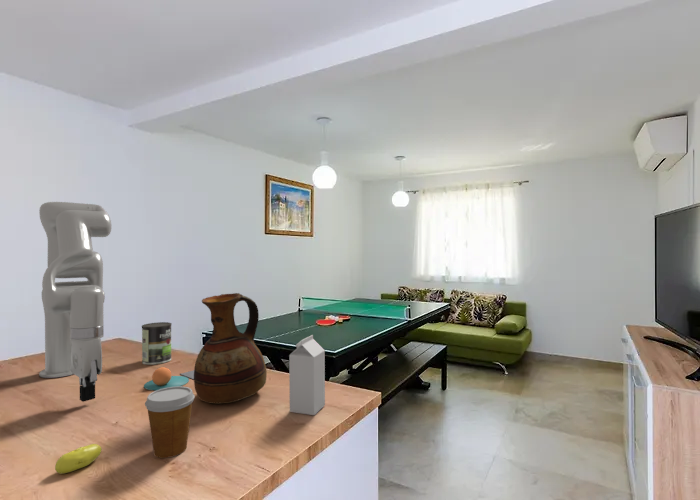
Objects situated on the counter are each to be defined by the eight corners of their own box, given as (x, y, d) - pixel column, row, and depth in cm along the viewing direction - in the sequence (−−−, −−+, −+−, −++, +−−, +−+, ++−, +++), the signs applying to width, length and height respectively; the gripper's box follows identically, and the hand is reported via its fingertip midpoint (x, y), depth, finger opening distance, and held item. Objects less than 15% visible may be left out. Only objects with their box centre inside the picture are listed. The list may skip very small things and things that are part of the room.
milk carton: (325, 405, 104) (324, 335, 105) (314, 416, 98) (313, 341, 98) (301, 402, 107) (301, 333, 107) (289, 412, 100) (289, 339, 100)
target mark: (136, 384, 122) (136, 383, 122) (176, 373, 132) (176, 373, 132) (155, 393, 114) (155, 392, 114) (196, 381, 124) (196, 381, 124)
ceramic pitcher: (182, 397, 111) (181, 293, 111) (243, 380, 126) (243, 288, 126) (215, 417, 98) (215, 299, 98) (280, 395, 112) (279, 292, 112)
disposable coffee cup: (156, 440, 86) (156, 386, 86) (200, 438, 86) (200, 384, 86) (136, 463, 76) (136, 403, 76) (186, 461, 77) (185, 401, 77)
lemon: (50, 473, 73) (50, 453, 73) (97, 455, 80) (97, 436, 80) (59, 481, 71) (59, 459, 71) (106, 461, 77) (106, 441, 77)
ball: (151, 365, 121) (169, 365, 125) (147, 383, 121) (165, 382, 125) (157, 370, 118) (175, 369, 121) (153, 388, 117) (172, 387, 121)
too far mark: (180, 374, 132) (180, 373, 132) (206, 367, 139) (206, 366, 139) (195, 380, 125) (195, 379, 125) (222, 372, 133) (222, 372, 133)
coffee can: (177, 358, 152) (177, 322, 152) (159, 365, 142) (159, 327, 142) (154, 356, 154) (154, 321, 154) (135, 364, 144) (135, 326, 144)
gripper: (62, 331, 107) (62, 397, 107) (80, 339, 98) (81, 411, 98) (92, 327, 113) (93, 389, 113) (113, 334, 104) (113, 401, 104)
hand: (87, 399), depth 106 cm, fingers closed
